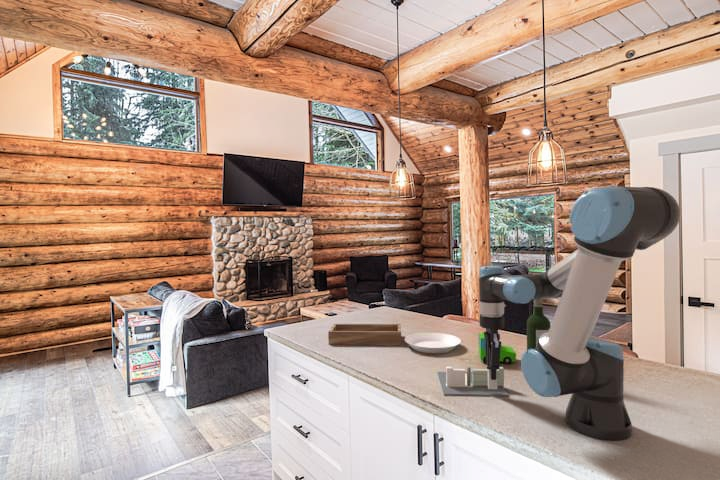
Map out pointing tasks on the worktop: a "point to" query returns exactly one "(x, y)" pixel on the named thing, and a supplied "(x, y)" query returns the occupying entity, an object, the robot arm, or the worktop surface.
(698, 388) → the worktop surface
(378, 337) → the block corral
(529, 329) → the wine bottle
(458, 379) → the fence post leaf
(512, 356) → the toy car
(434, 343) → the white plate
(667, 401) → the worktop surface
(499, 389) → the mat
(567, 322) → the robot arm
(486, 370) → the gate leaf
